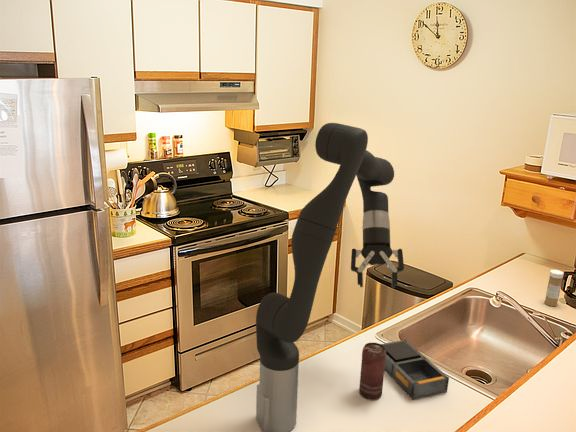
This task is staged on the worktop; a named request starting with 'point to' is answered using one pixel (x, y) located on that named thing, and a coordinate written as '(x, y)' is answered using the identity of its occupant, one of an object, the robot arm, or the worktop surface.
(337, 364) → the worktop surface
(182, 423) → the worktop surface
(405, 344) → the dark grey open box
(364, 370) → the can
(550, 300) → the sprinkles bottle
